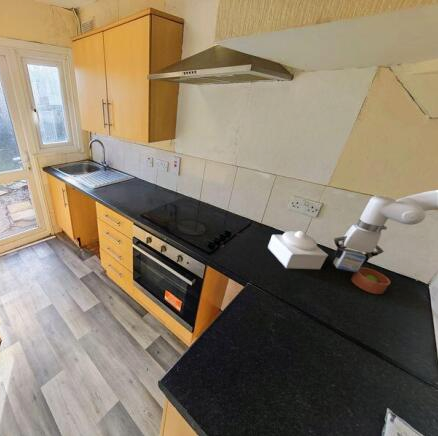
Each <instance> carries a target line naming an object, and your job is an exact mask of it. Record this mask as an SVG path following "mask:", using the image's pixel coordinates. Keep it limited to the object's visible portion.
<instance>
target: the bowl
mask: <svg viewBox="0 0 438 436" xmlns="http://www.w3.org/2000/svg"><path fill="white" fill-rule="evenodd" d="M365 275H372V276H374V277H376V278H377V280H378V283H377V282H374V281H372V280H369V279H367V278H366V277H364V276H365ZM350 280H351V282H352V283H353V284H354V285H355V286H356V287H358V288H359V289H360V290H363V291H365V292H368V293H370V294H374V295H382V294H384V293H385V291H386V290H387V289H388V288H389V286H390V285H391V280H390V279H389V278H388V277H387V276H386V275H384V274H383V273H381V272H379V271H377V270H375V269H372V268H369V267H363V266H361V267H360V268H359V270H358V271H357V272H353V274H352V276H351V277H350Z"/></svg>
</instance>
